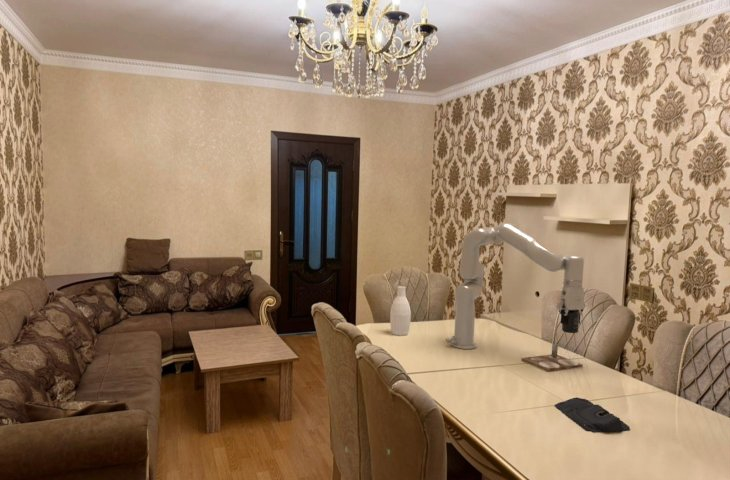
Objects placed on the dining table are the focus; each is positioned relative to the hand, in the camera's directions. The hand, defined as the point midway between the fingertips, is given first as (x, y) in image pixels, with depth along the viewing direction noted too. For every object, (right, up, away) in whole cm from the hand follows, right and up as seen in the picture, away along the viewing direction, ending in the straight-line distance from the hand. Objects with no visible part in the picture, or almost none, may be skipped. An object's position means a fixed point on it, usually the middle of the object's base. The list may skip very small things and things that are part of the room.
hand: (570, 323), depth 213 cm
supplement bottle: (0, -4, 0) cm, 4 cm away
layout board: (-7, -19, +3) cm, 20 cm away
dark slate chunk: (-17, -23, -54) cm, 61 cm away
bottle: (-72, -14, +46) cm, 87 cm away
